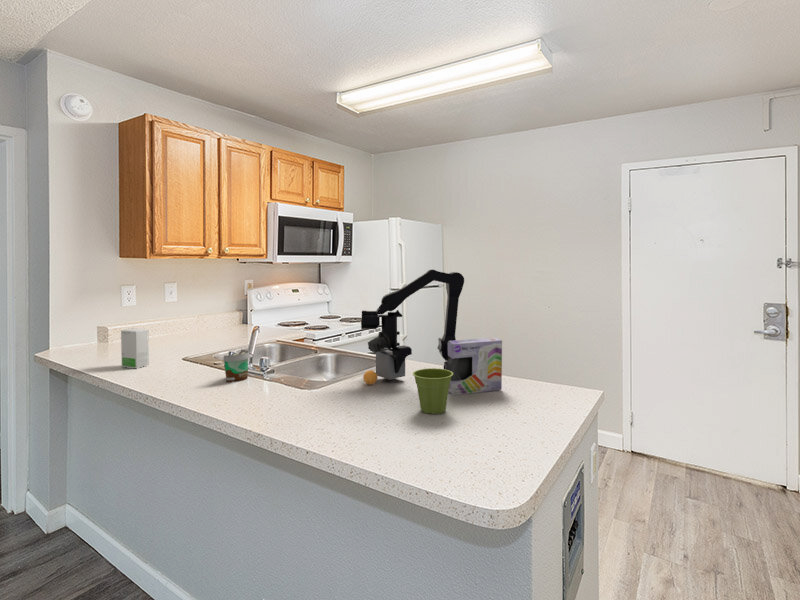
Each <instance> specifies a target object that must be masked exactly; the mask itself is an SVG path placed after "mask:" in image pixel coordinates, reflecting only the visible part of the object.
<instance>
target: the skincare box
mask: <svg viewBox="0 0 800 600" xmlns="http://www.w3.org/2000/svg"><path fill="white" fill-rule="evenodd" d="M120 336H121V337H120V340H121V341H120V345H121V351H120V352H121V368H125V367H127V368H126V369H133V368H138V369H141V368H140V367H142V368H144V367H143V366H146V367H148V366H147V365H150V360H149V359H150V353H149V352H150V350H149V349H150V347H149V345H150V344H149V338H150V337H149V329H145V328H134V327H132V328H128V329H127V328H126V329H122V330H120Z"/></svg>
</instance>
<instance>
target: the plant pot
mask: <svg viewBox="0 0 800 600" xmlns="http://www.w3.org/2000/svg"><path fill="white" fill-rule="evenodd" d="M412 376H414V380H415V384H416V388H417V394H418V400H419V405H420V411H421V412H423V413H425V414H432V415H438V414H443V413H445V411H446V409H447V403H448V398H449V397H448V396H449V392H448V391H449V384H450V382H451V376H453V372H451V371H449V370H445V369H444V368H437V367H435V368H433V367H432V368H422V369H421V368H420V369H417V370H415V371H413V372H412Z"/></svg>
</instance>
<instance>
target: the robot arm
mask: <svg viewBox="0 0 800 600" xmlns="http://www.w3.org/2000/svg"><path fill="white" fill-rule="evenodd" d="M434 281H435V282H439V283H443V284H445V289H446V295H447V297H446V298H447V299H446V307H445V308H446V310H445V318H444V328H443V329H444V330H443V335H442V337H438V345H437V347H436V348H437V350H438V352H439V354H440V356H441V357H442V358H443V359H444V360H445V361H444V362H443V363H444V364H443V369H445V370H447V365H448V341H454V340H457V339H456V330H457V320H458V309H459V302H460V301H459V299H460V296H461V294H462V291H463V288H464V283H465V277H464V276H463V274H462V273H460V272H457V271H451V272H442V271H439V270H436V269H429V270H427V271H426V272H425V273H423V274H422V275H420V276H418V277H417V278H416V279H414V280H413V281H411V282H410V283H408V284H406V285H405V286H403V287H402V288H400V289H397V290H394V291H392V292H389V293H386V294H385V295H383V296H382V298H381V301H380V302H381V304H380V305H379V307H377V309H376V310H361V319H360V325H361V326H360V328H361V330H377V328H378V327H381V331H379V332H378V336H376V337H373V338H372V339H371V340H369V341H367V345H368V350H369V351H370V352H372V353H374V354H375V355H376V352H379V351H385V350H389V351H392V353H393V355H392V356H391V357H392V358H393V359H394V368H395V373H398V372H399V370H400V368H401V366H402V364H403V362H404V360H405V361H406V359H407V357H409V356H410V355H413V353H412V351H413V349H412V348H411V346H408V345H400V342H398V336H399V335H400V334H401V333H400V331H398V318H402V317H403V314H402V313H401V312H400V311H399V310H398V309H397V308H398V307H399V306H401V304H402V303H404V301H405V300H406V299H408V298H409V297H410V296H412V295H413V294H415V293H416V292H418V291H420V290H421V289H422V288H424V287H426V286H428V285H429V284H430V283H432V282H434ZM396 309H397V310H396ZM395 310H396V311H395ZM385 313H387V314H385ZM380 318H381V323H380ZM380 324H381V325H380Z"/></svg>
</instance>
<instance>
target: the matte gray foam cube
mask: <svg viewBox="0 0 800 600" xmlns="http://www.w3.org/2000/svg"><path fill="white" fill-rule="evenodd" d="M392 355H393V353H392V351H389V350H385V351H379V352H376V354H375V373H376V374H377V377H379V378H383V379H385V380H389V381H390V380H393V379H398V378H403V377H406V359H405V360H404V362H403V364H402V366H401V368H400V370H399V372H398V373H395V368H394V359H393V358H392V357H391V356H392Z"/></svg>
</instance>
